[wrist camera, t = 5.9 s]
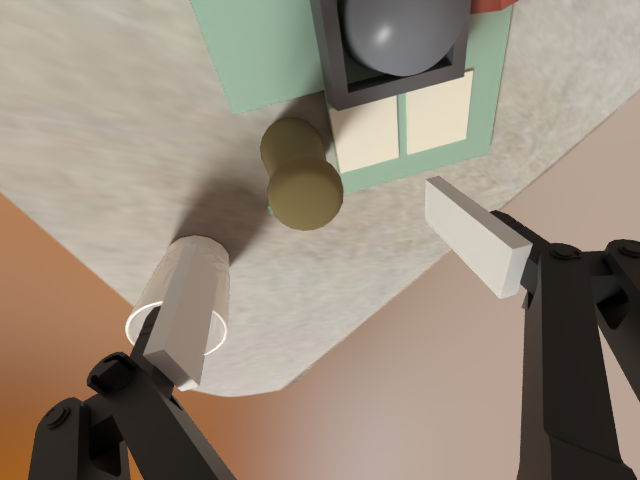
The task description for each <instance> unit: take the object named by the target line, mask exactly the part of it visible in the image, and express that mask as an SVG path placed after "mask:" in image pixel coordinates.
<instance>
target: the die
mask: <svg viewBox="0 0 640 480" xmlns="http://www.w3.org/2000/svg"><path fill="white" fill-rule="evenodd" d="M517 1H518V0H471V8H470V14H477V13H485V12H493V11H501V10H503V9H505V8H506V7H508V6H510V5H511V4H513V3H515V2H517Z"/></svg>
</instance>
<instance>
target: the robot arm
mask: <svg viewBox="0 0 640 480" xmlns="http://www.w3.org/2000/svg"><path fill="white" fill-rule="evenodd" d="M425 221H426V222H427V223H428V224H429V225H430V226H431V227H432V228H433V229H434V230H435V231H436V232H437V233H438V234H439V235H440V236H441V237H442V239H443V240H444V241H445V242H446V243H447V244H448V245H449V246H450V247H451V248H452V249H453V250H454V251H455V252H456V253H457V254H458V255H459V256H460V257H461V259H463V261H465V263H466V264H467V265H468V266H469V267H470V268H471V269H472V270H473V271H474V272H475V273H476V274H477V275H478V276H479V277H480V279H482V281H483V282H484V283H485V284H486V285H487V286H488V287H489V288H490V289H491V290H492V291H493V292H494V293H495V294H496V295H497V296H498V297H499V298H500V299H502V298H506V297H509V296H512V295H516V294H517V293H518V290H519V287H520V284H521V285H522V286H523V287H524V288H525V289H527V294H526V296H525V299H524V302H523V305H522V308H524V309H525V328H524V358H523V386H522V416H521V444H520V445H521V446H520V464H519V470H518V475H517V480H637V478H636V476H635V474H634V472H633V470H632V469H631V468H629V467H628V466H627V465H625V464H624V463H623V461H622V459H621V455H620V452H619V446H618V440H617V434H616V429H615V423H614V417H613V411H612V406H611V400H610V394H609V388H608V382H607V376H606V371H605V365H604V359H603V354H602V348H601V342H600V336H599V331H598V325H599V328H600V329H601V331H602V333H603V335H604V337H605V339H606V340H607V342H608V344H609V346H610V348H611V350H612V352H613V353H614V355H615V357H616V359H617V361H618V363H619V365H620V366H621V368H622V370H623V372H624V374H625V376H626V378H627V380H628V381H629V383H630V385H631V387H632V389H633V391H634V392H635V394H636V396H637V398H638V400H639V402H640V242H638V241H634V240H625V239H621V240H614V241H611V242H609V244H608V245H607V247H606V249H605V251H590V252H582V251H581V250H579V249H578V248H576V247H573V246H571V245H567V244H563V243H549V242H548V241H546V240H545V239H543V238H542V237H540V236H539V235H537V234H536V233H534V232H533V231H532V230H530V229H529V228H527V227H526V226H525V227H524V226H523V225H522V224H521V223H520V222H517V221H516V220H515V219H514V218H512V217H511V216H509V215H508V214H505V213H502V212H500V211H497V210H495V211H491V212H488V211H487V210H485V209H484V208H483V207H481V206H480V205H478V204H477V203H476V202H474V201H473V200H472V199H470V198H469V197H467V196H466V195H465V194H463V193H462V192H460V191H459V190H458V189H456V188H455V187H454V186H452V185H451V184H449V183H448V182H447V181H445V180H444V179H443V178H441V177H440V176H436V177H433V178H429V179H426V194H425ZM217 284H218V277H217V275H216V274H215V272H214V270H213V269H212V267H211V265H210V264H209V262H208V260H207V259H206V257H205V255H204V254H203V252H202V250H201V249H200V247H199V245H198V244H197V243H196V244H193V245H189V246H185V247H183V250H182V253H181V255H180V258H179V261H178V263H177V266H176V269H175V271H174V274H173V277H172V279H171V282H170V284H169V287H168V290H167V292H166V295H165V298H164V300H163V303H162V305H161V306H157V307H154V308H153V309H152V311H151V312H150V313H149V314H148V316H147V317H146V319H145V321H144V324H143V326H142V329H141V331H140V333H139V337H138V338H137V340H136V343H135V345H134V348H133V350H132V353H131V355H130V357H129V356H128V355H126V354H125V353H123V352H116V353H113V354H110V355H108V356H107V357H105V358H104V359H102V360H101V361H100V362H99V363H98V364H97V365H96V366H95V367H94V368H93V370H92V371H91V372H90V373H89V376H88V378H87V386H89V387H90V388H92V389H93V390H95V391H96V392H97V393H98V394H96V395H94V396H92V397H91V398H89V399H87V400H85V401H84V402H82V401H80V400H79V399H77V398H74V397H72V398H68V399H65V400H63V401H61V402H59V403H58V404H57V405H55V406H54V407H53V408H51V409H50V410H49V411H48V412H47V413H46V415H45V416H44V417H43V418H42V420H41V421H40V423H39V424H38V427H37V430H36V433H35V439H34V446H33V452H32V458H31V464H30V470H29V476H28V480H131V479H130V470H129V460H128V450H127V446H128V448H129V450H130V452H131V454H132V456H133V458H134V460H135V463H136V465H137V467H138V469H139V471H140V473H141V475H142V477H143V479H144V480H237V479H236V478H235V477H234V476H233V474H232V473H231V472H230V470H229V469H228V467H227V466H226V465H225V464H224V462H223V461H222V460H221V458H220V457H219V456H218V454H217V453H216V451H215V450H214V449H213V447H212V446H211V445H210V443H209V442H208V441H207V439H206V438H205V437H204V435H203V434H202V433H201V431H200V430H199V429H198V427H197V426H196V425H195V423H194V422H193V421H192V419H191V418H190V417H189V415H188V414H187V413H186V411H185V410H184V408H183V407H182V406H181V404H180V403H179V402H178V401H177V399H176V398H175V397H174V396H173V395H172V391H173V387H174V385H175V386H176V387H177V388H178V389H180V391H184V390H188V389H191V388H195V387H198V386H199V385H200V380H201V374H202V368H203V363H204V357H205V351H206V346H207V340H208V334H209V329H210V323H211V317H212V312H213V306H214V300H215V295H216V289H217Z"/></svg>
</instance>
